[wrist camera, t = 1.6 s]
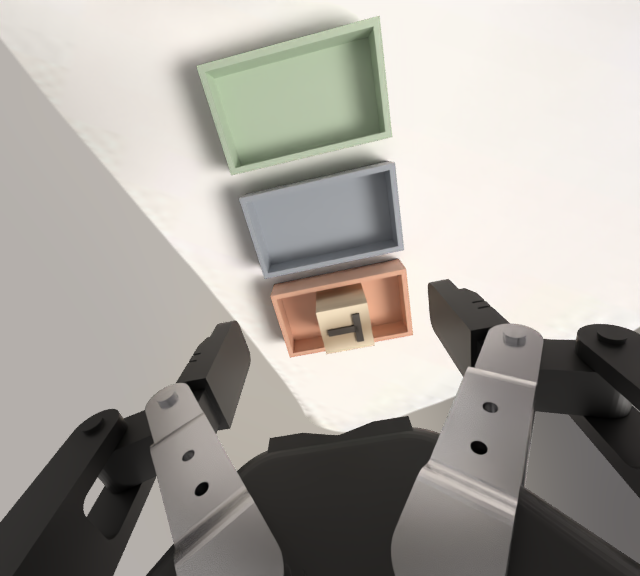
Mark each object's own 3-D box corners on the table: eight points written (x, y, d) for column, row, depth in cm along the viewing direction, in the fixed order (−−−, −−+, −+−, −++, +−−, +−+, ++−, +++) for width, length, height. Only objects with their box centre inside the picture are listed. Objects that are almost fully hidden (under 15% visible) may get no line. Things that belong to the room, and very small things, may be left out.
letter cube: (316, 290, 34) (315, 313, 29) (360, 281, 33) (367, 303, 28) (325, 327, 36) (326, 355, 31) (367, 319, 35) (374, 346, 31)
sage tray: (209, 74, 26) (196, 65, 23) (372, 30, 24) (379, 15, 22) (239, 172, 29) (231, 175, 26) (384, 138, 28) (392, 137, 25)
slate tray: (246, 194, 30) (238, 198, 27) (387, 161, 29) (394, 162, 26) (269, 268, 33) (264, 278, 30) (396, 241, 32) (404, 250, 29)
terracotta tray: (274, 284, 34) (270, 296, 31) (398, 258, 33) (406, 268, 30) (291, 342, 37) (290, 357, 34) (405, 320, 36) (413, 335, 33)
